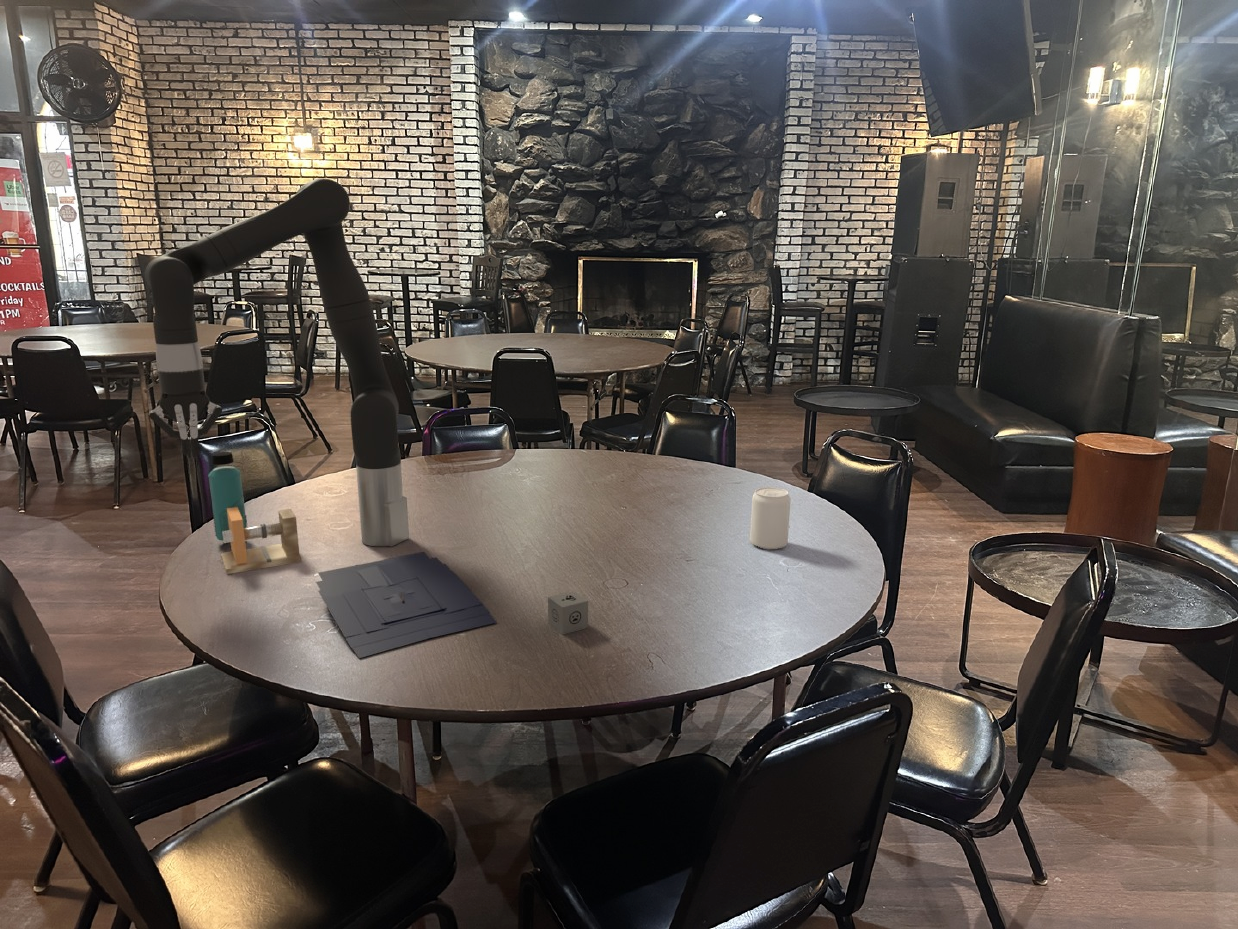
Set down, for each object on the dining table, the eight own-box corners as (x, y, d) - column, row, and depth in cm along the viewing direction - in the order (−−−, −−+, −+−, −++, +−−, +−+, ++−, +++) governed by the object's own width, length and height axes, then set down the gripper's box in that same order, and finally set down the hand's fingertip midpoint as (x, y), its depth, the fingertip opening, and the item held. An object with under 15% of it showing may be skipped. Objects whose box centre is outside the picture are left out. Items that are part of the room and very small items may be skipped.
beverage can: (791, 541, 185) (794, 489, 182) (782, 553, 178) (785, 499, 175) (755, 536, 188) (758, 484, 185) (745, 547, 181) (748, 494, 178)
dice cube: (588, 627, 143) (588, 600, 142) (562, 635, 141) (562, 607, 139) (573, 617, 147) (573, 590, 146) (548, 623, 145) (547, 597, 143)
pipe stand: (226, 574, 164) (221, 530, 162) (221, 557, 173) (216, 516, 170) (301, 561, 171) (297, 519, 169) (293, 546, 179) (289, 506, 177)
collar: (236, 564, 165) (231, 521, 163) (231, 550, 173) (226, 508, 170) (247, 562, 166) (242, 519, 164) (242, 548, 174) (237, 506, 171)
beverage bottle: (236, 549, 178) (226, 457, 172) (209, 546, 179) (197, 455, 174) (255, 538, 184) (246, 450, 179) (228, 536, 185) (218, 448, 180)
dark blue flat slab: (433, 562, 168) (433, 545, 167) (498, 635, 145) (498, 617, 144) (308, 587, 155) (306, 570, 154) (357, 673, 132) (357, 653, 131)
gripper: (217, 362, 163) (227, 449, 167) (139, 366, 156) (151, 456, 161) (221, 367, 157) (231, 457, 161) (140, 372, 150) (153, 465, 155)
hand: (191, 456), depth 161 cm, fingers closed
